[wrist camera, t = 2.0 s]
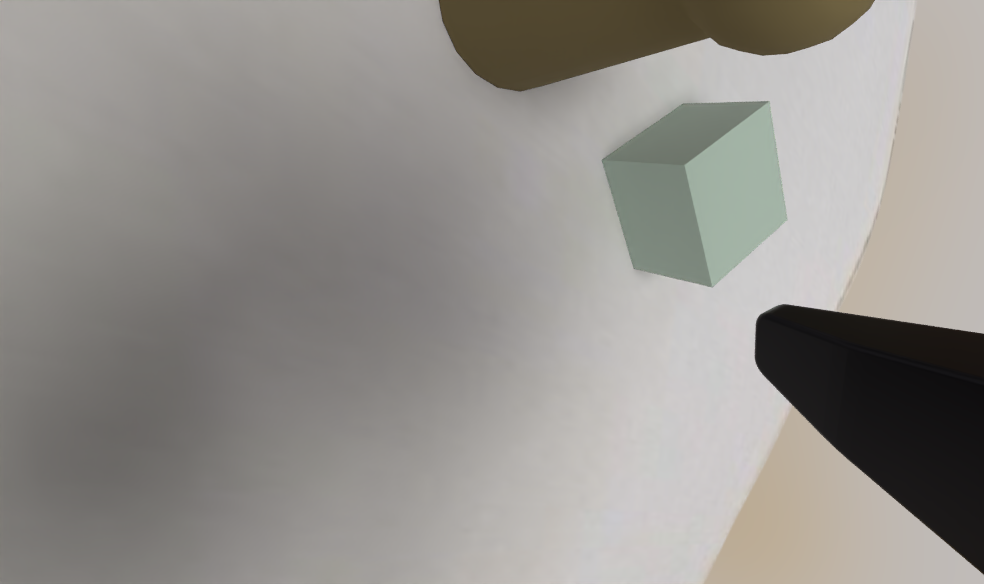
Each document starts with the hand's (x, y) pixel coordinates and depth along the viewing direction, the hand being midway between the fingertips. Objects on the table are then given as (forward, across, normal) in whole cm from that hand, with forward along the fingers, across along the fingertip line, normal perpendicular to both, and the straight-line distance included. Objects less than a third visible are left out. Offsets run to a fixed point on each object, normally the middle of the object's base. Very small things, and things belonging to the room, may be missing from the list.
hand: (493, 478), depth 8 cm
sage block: (+14, -14, +5) cm, 21 cm away
